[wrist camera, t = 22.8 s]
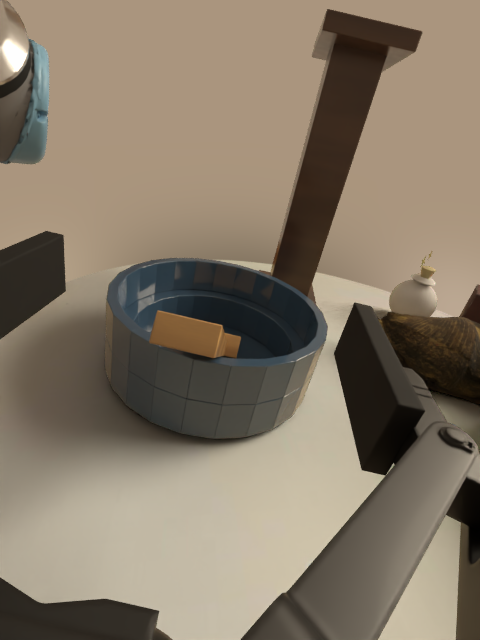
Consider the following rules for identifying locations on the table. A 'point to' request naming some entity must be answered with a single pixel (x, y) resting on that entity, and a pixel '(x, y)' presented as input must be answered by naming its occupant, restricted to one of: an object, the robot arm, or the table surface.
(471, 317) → the box
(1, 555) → the table surface
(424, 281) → the potion bottle
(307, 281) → the spoon stand
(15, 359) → the table surface
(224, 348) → the wooden mallet
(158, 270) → the bowl
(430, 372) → the seashell
